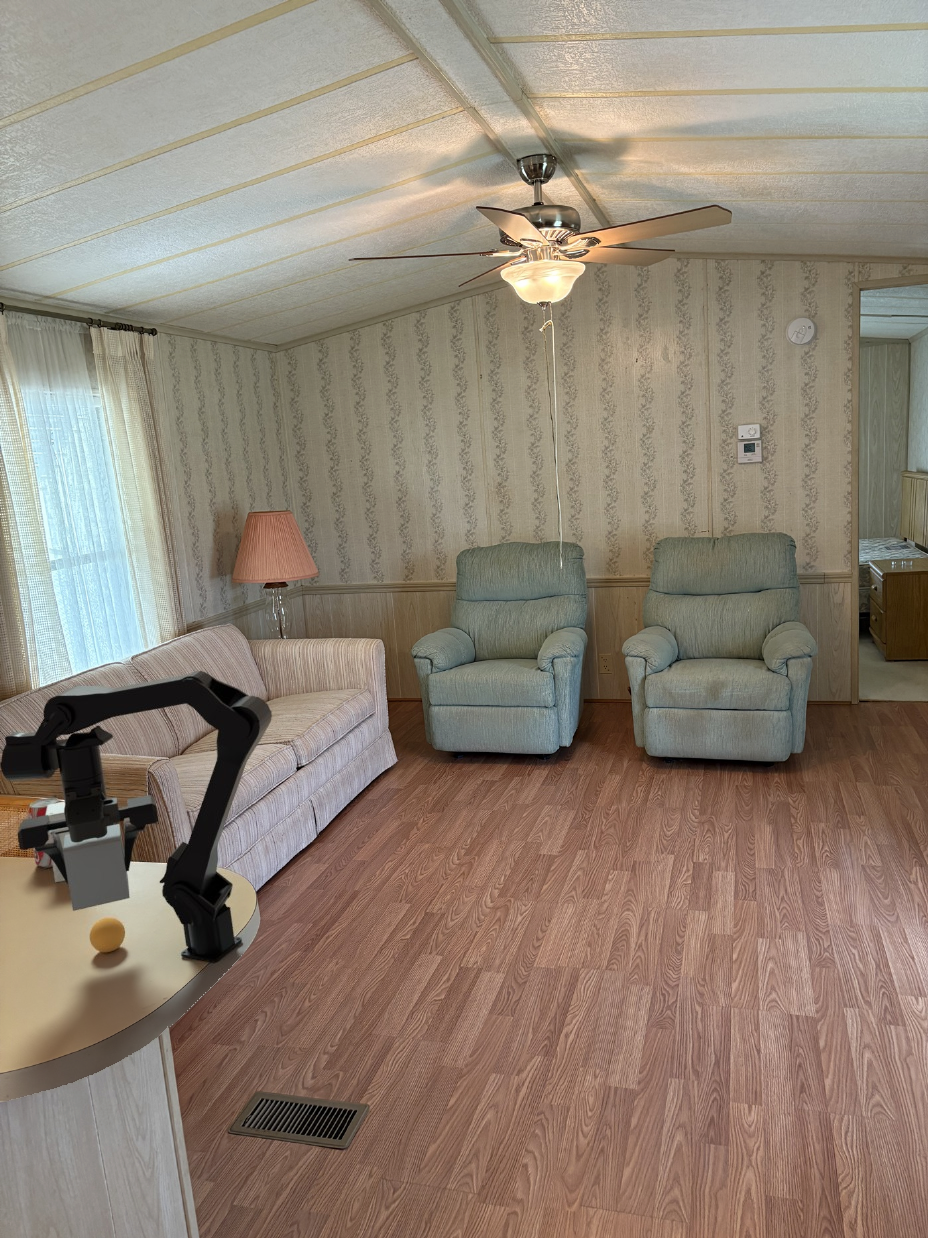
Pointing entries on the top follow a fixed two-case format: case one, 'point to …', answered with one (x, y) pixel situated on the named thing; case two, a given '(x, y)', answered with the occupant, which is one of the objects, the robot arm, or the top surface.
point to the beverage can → (39, 810)
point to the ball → (107, 934)
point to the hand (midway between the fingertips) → (98, 876)
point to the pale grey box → (96, 869)
